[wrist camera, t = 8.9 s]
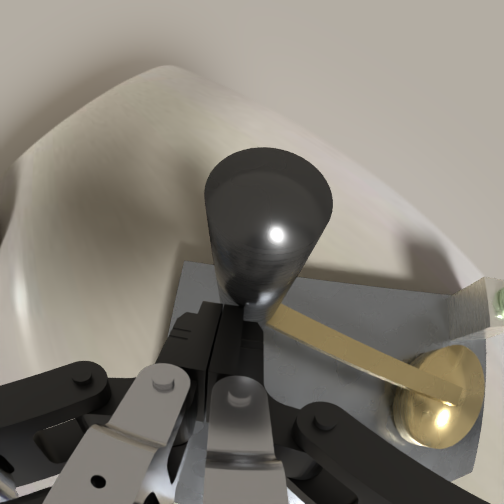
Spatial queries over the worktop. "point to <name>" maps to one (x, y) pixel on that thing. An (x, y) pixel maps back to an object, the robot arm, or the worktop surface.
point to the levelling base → (345, 376)
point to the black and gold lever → (289, 266)
